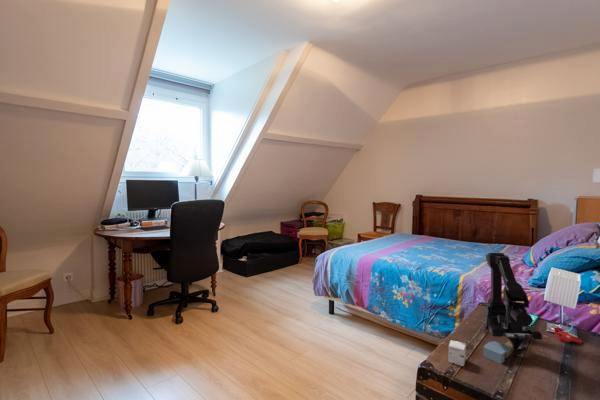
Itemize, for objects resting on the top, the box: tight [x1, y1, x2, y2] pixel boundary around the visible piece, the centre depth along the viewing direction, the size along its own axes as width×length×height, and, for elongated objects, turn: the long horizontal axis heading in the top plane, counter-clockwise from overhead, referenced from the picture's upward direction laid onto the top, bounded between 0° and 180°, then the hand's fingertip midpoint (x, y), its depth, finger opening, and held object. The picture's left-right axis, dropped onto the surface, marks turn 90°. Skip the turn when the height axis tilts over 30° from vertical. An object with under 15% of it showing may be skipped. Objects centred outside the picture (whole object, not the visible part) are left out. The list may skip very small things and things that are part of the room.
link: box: [504, 339, 520, 360], centre depth 140 cm, size 18×4×2 cm, turn 130°
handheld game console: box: [528, 313, 539, 327], centre depth 170 cm, size 10×16×1 cm, turn 131°
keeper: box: [483, 340, 511, 365], centre depth 136 cm, size 8×9×4 cm
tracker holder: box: [553, 326, 583, 345], centre depth 149 cm, size 12×4×10 cm
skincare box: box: [447, 339, 467, 367], centre depth 133 cm, size 6×6×7 cm
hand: (514, 350), depth 137 cm, fingers closed
